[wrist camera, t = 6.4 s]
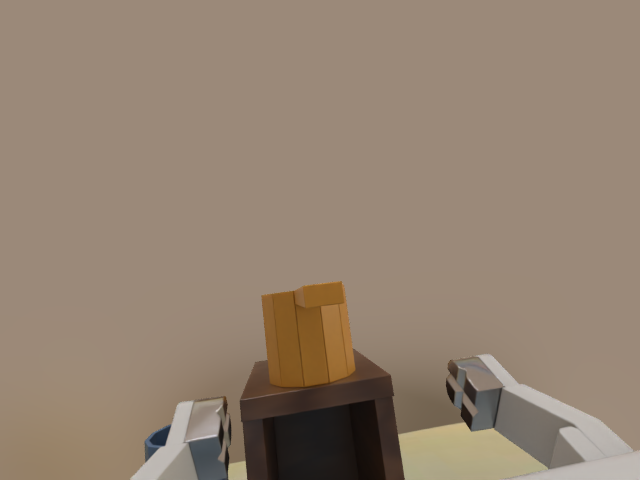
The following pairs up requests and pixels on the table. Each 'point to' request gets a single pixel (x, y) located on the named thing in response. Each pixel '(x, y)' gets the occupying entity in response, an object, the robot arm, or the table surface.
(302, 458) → the stand
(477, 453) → the table surface
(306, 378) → the cup
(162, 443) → the blue-grey hollow cylinder
